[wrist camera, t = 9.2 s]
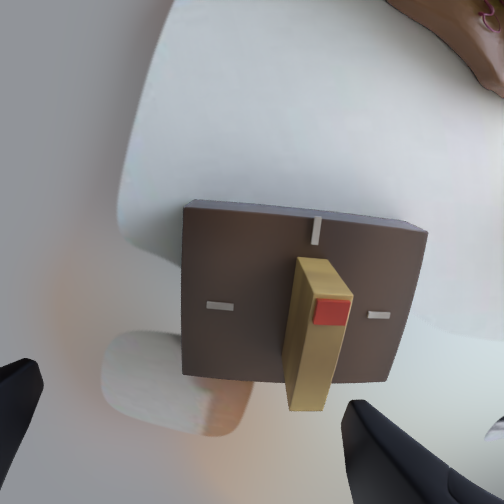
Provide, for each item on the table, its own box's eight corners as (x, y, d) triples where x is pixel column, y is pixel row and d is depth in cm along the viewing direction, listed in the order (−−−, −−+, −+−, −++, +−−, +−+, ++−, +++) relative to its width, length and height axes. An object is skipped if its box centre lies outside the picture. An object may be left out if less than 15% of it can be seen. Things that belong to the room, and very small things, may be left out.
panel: (189, 349, 21) (181, 378, 18) (193, 197, 18) (182, 205, 15) (372, 358, 21) (386, 384, 18) (405, 219, 18) (430, 230, 15)
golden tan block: (308, 358, 17) (323, 414, 13) (281, 357, 17) (289, 415, 13) (327, 259, 16) (355, 298, 11) (296, 256, 16) (314, 295, 11)
